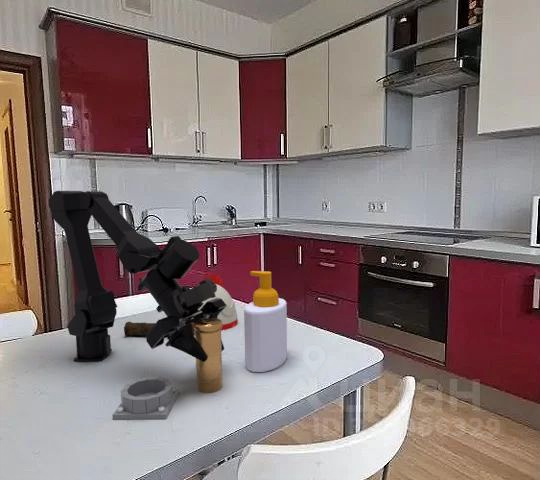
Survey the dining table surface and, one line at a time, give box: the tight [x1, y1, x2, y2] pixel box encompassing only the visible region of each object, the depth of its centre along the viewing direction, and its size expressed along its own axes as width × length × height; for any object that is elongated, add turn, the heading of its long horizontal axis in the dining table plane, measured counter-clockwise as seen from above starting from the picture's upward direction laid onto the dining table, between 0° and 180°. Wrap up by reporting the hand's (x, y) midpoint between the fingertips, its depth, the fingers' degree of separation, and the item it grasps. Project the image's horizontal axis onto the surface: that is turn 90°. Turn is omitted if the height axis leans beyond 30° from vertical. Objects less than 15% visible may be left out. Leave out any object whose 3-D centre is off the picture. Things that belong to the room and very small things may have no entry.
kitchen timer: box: [192, 272, 239, 331], centre depth 118 cm, size 14×14×15 cm
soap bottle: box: [243, 270, 288, 373], centre depth 90 cm, size 13×8×20 cm, turn 154°
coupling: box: [194, 318, 223, 394], centre depth 78 cm, size 5×5×13 cm
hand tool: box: [123, 321, 195, 337], centre depth 108 cm, size 19×4×5 cm, turn 82°
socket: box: [112, 376, 180, 420], centre depth 72 cm, size 9×9×3 cm
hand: (214, 355), depth 78 cm, fingers closed on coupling, 5 cm apart
